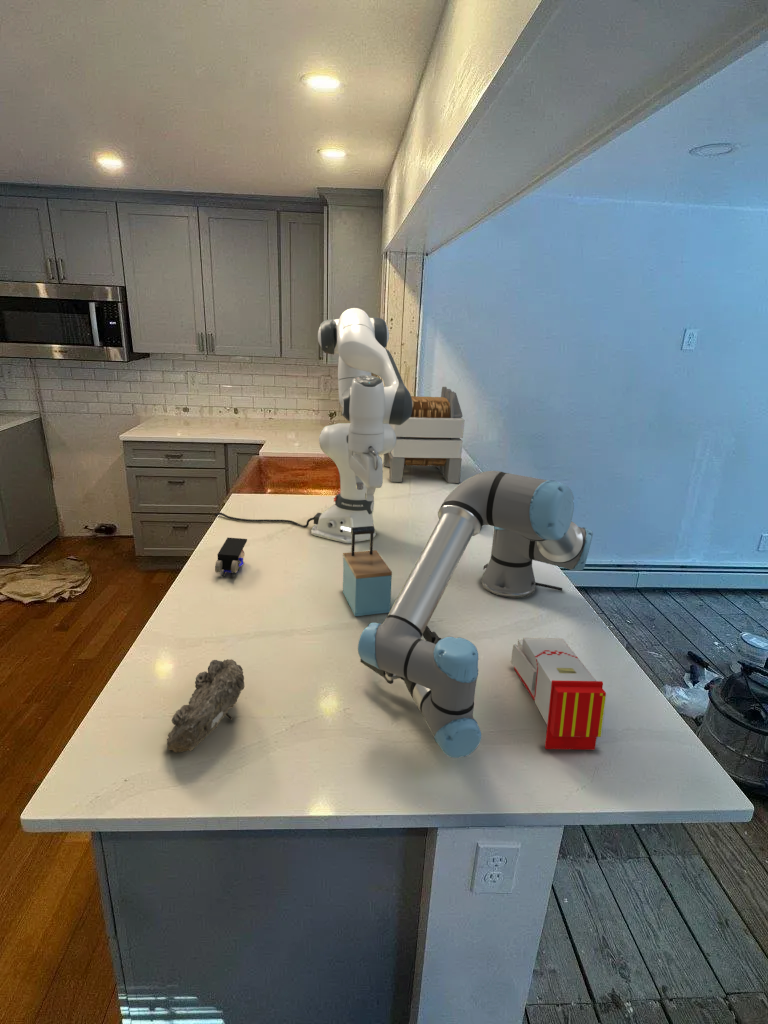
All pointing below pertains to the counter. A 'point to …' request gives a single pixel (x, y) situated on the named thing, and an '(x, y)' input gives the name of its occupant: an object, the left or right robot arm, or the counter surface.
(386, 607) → the chest
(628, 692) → the counter surface
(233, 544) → the black toy rover
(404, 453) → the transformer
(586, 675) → the toy
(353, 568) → the lid
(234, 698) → the fossil
